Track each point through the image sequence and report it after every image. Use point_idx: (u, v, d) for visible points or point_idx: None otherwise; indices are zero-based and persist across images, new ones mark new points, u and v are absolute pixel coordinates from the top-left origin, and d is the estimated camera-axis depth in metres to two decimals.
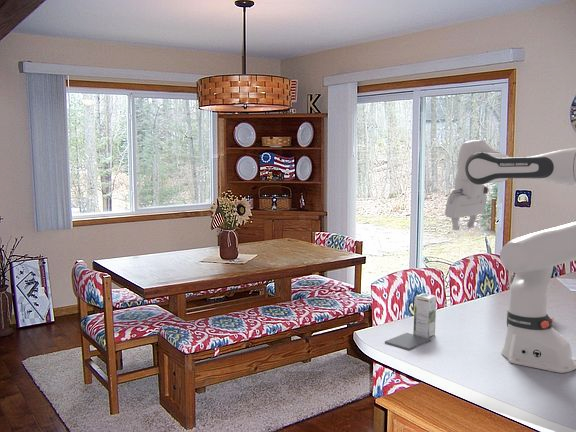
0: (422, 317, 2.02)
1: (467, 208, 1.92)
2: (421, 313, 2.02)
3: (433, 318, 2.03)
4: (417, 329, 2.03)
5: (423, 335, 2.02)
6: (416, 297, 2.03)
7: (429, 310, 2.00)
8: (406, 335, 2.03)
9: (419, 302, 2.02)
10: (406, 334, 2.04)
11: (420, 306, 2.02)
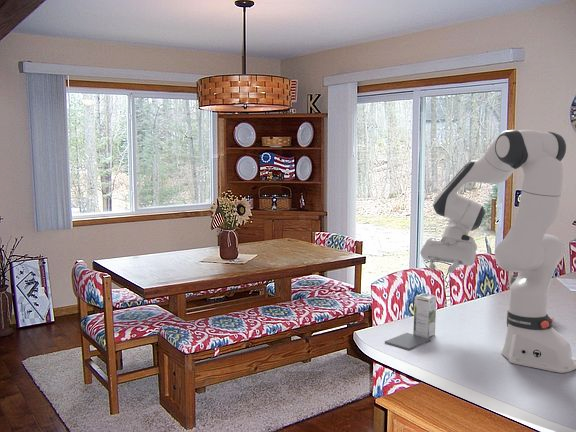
0: (422, 317, 2.02)
1: (441, 250, 2.14)
2: (421, 313, 2.02)
3: (433, 318, 2.03)
4: (417, 329, 2.03)
5: (423, 335, 2.02)
6: (416, 297, 2.03)
7: (429, 310, 2.00)
8: (406, 335, 2.03)
9: (419, 302, 2.02)
10: (406, 334, 2.04)
11: (420, 306, 2.02)
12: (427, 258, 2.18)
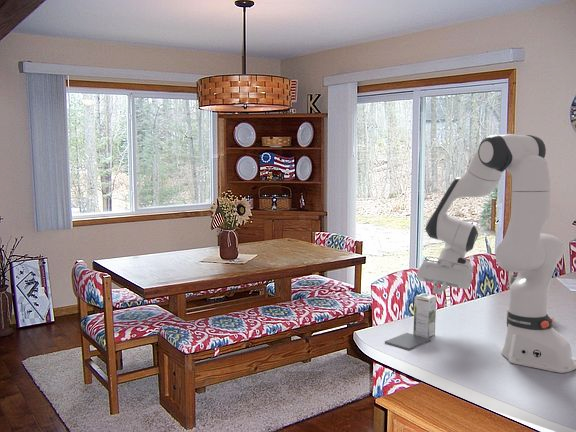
0: (422, 317, 2.02)
1: (437, 273, 2.14)
2: (421, 313, 2.02)
3: (433, 318, 2.03)
4: (417, 329, 2.03)
5: (423, 335, 2.02)
6: (416, 297, 2.03)
7: (429, 310, 2.00)
8: (406, 335, 2.03)
9: (419, 302, 2.02)
10: (406, 334, 2.04)
11: (420, 306, 2.02)
12: (423, 280, 2.18)
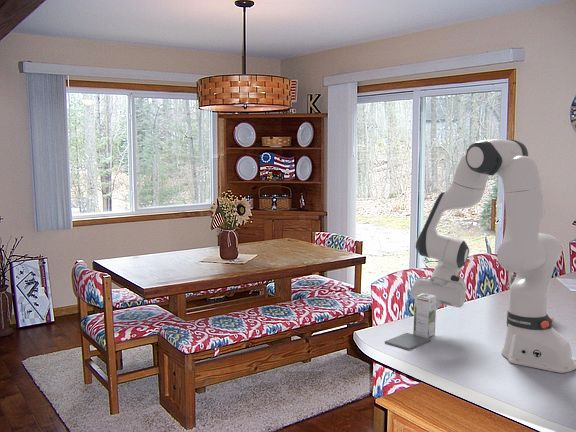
0: (422, 317, 2.02)
1: (430, 291, 2.10)
2: (421, 313, 2.02)
3: (433, 318, 2.03)
4: (417, 329, 2.03)
5: (423, 335, 2.02)
6: (416, 297, 2.03)
7: (429, 310, 2.00)
8: (406, 335, 2.03)
9: (419, 302, 2.02)
10: (406, 334, 2.04)
11: (420, 306, 2.02)
12: None
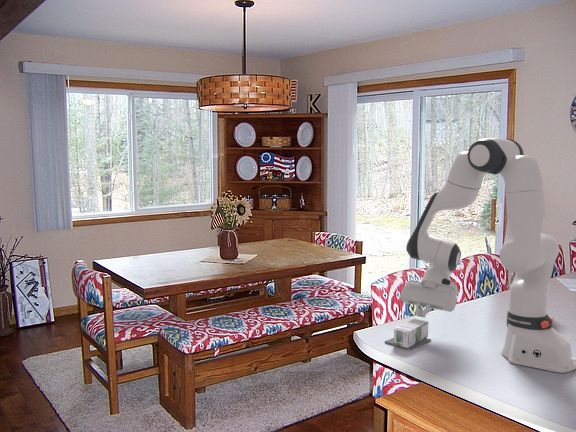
0: None
1: (421, 295, 2.05)
2: None
3: (419, 331, 1.96)
4: None
5: None
6: None
7: (414, 343, 1.94)
8: None
9: None
10: None
11: None
12: (407, 302, 2.09)
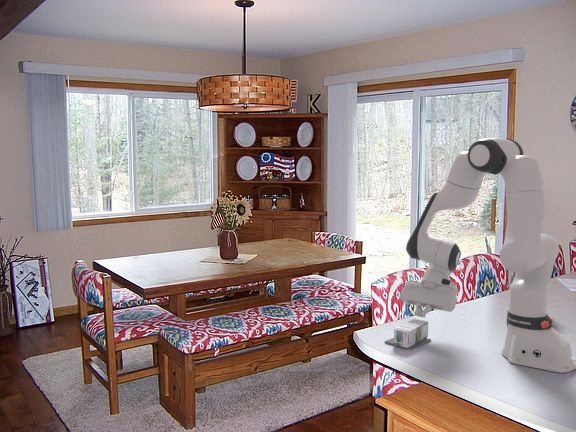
0: None
1: (421, 295, 2.05)
2: None
3: (419, 331, 1.96)
4: None
5: None
6: None
7: (414, 343, 1.94)
8: None
9: None
10: None
11: None
12: (406, 302, 2.09)
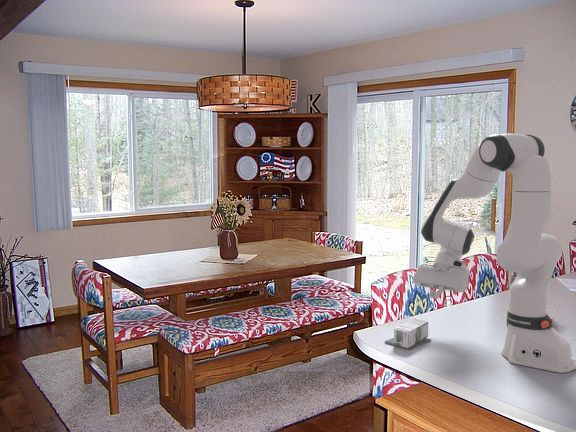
0: None
1: (433, 277, 2.10)
2: None
3: (419, 331, 1.96)
4: None
5: None
6: None
7: (414, 343, 1.94)
8: None
9: None
10: None
11: None
12: (419, 284, 2.14)
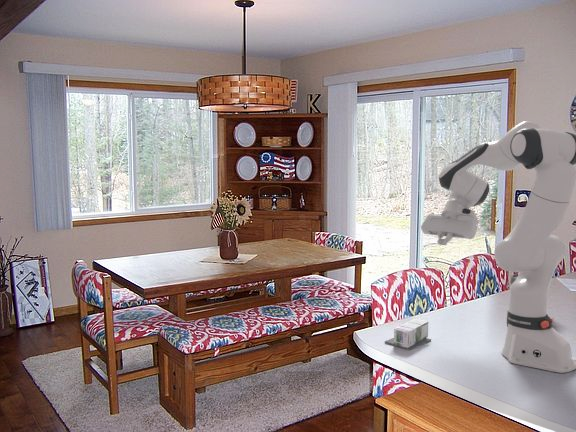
0: None
1: (442, 224, 2.13)
2: None
3: (419, 331, 1.96)
4: None
5: None
6: None
7: (414, 343, 1.94)
8: None
9: None
10: None
11: None
12: (428, 233, 2.17)
